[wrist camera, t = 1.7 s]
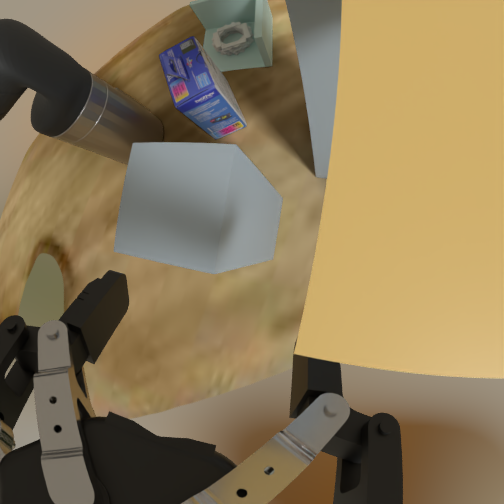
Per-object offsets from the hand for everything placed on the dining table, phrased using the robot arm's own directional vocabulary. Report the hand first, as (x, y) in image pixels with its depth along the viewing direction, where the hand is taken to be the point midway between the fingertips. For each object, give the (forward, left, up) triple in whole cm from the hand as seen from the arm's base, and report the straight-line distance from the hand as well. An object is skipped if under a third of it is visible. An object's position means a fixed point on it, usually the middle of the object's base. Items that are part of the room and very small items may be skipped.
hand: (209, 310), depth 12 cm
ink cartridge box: (-25, -1, -26) cm, 36 cm away
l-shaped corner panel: (-36, +6, -26) cm, 45 cm away
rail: (-9, +12, +6) cm, 16 cm away
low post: (-7, -3, -26) cm, 27 cm away
